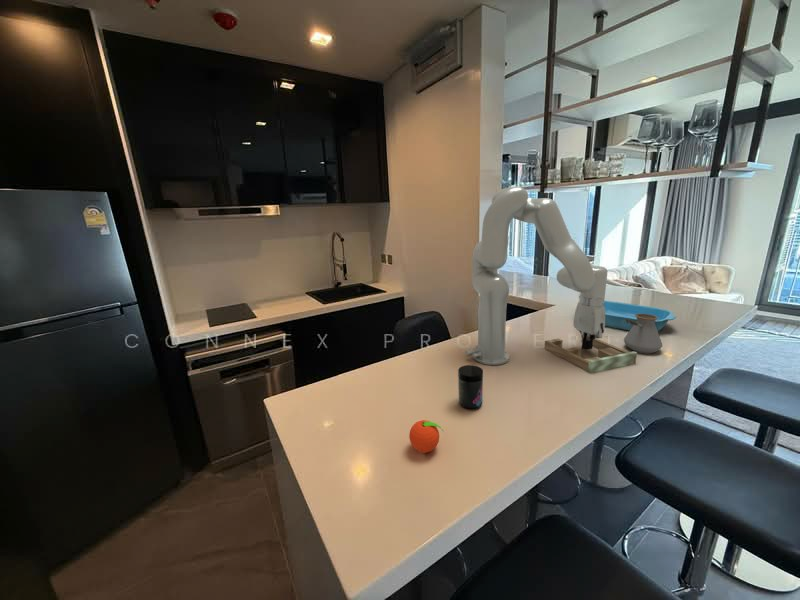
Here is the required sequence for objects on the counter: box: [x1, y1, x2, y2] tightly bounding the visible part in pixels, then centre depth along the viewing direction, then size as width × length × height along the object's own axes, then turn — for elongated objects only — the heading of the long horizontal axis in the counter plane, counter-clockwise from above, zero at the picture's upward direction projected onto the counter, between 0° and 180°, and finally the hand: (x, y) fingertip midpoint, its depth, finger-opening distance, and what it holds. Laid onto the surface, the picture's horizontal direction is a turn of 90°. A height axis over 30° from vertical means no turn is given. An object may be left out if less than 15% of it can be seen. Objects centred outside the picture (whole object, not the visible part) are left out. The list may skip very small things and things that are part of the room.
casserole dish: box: [604, 299, 677, 332], centre depth 148 cm, size 37×22×7 cm, turn 41°
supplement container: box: [457, 364, 484, 411], centre depth 92 cm, size 7×7×10 cm
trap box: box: [544, 337, 638, 374], centre depth 119 cm, size 19×22×4 cm
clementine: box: [408, 419, 444, 453], centre depth 76 cm, size 8×7×7 cm
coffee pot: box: [622, 314, 663, 354], centre depth 117 cm, size 21×12×15 cm, turn 122°
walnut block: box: [597, 348, 623, 358], centre depth 113 cm, size 5×5×4 cm
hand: (586, 348), depth 122 cm, fingers closed
